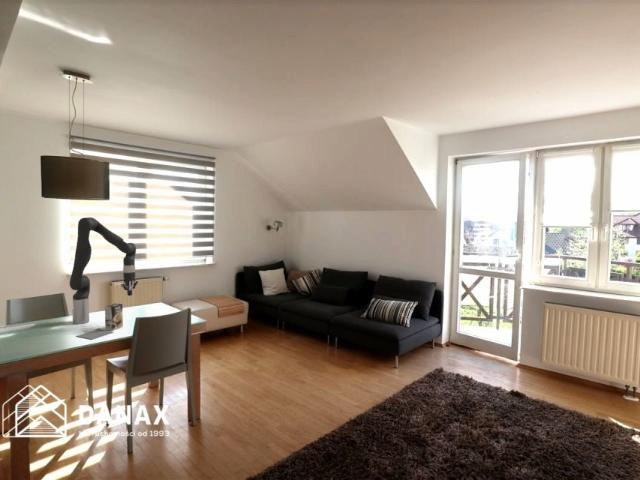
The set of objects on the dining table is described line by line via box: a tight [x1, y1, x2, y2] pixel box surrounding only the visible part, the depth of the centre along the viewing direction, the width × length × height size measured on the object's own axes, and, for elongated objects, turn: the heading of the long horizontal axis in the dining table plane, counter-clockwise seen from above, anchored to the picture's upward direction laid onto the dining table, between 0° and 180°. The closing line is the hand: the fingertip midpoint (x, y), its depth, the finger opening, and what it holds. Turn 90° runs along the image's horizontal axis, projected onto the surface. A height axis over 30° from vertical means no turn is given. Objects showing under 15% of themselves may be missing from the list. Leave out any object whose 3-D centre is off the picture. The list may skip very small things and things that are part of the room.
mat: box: [76, 328, 115, 341], centre depth 227 cm, size 14×15×1 cm
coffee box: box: [104, 303, 124, 332], centre depth 239 cm, size 9×6×16 cm
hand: (129, 295), depth 250 cm, fingers closed
